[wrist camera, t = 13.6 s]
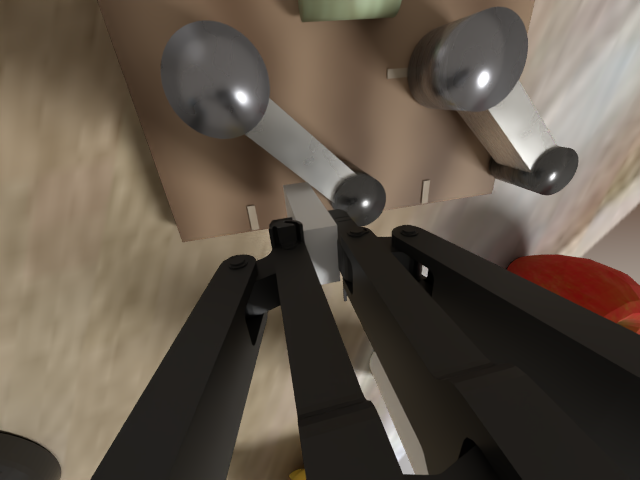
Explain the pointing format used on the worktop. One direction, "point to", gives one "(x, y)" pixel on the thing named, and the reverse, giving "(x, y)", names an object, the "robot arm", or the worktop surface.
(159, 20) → the levelling board
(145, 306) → the worktop surface
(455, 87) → the knob
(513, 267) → the apple
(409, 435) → the cylindrical container
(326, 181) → the knob
